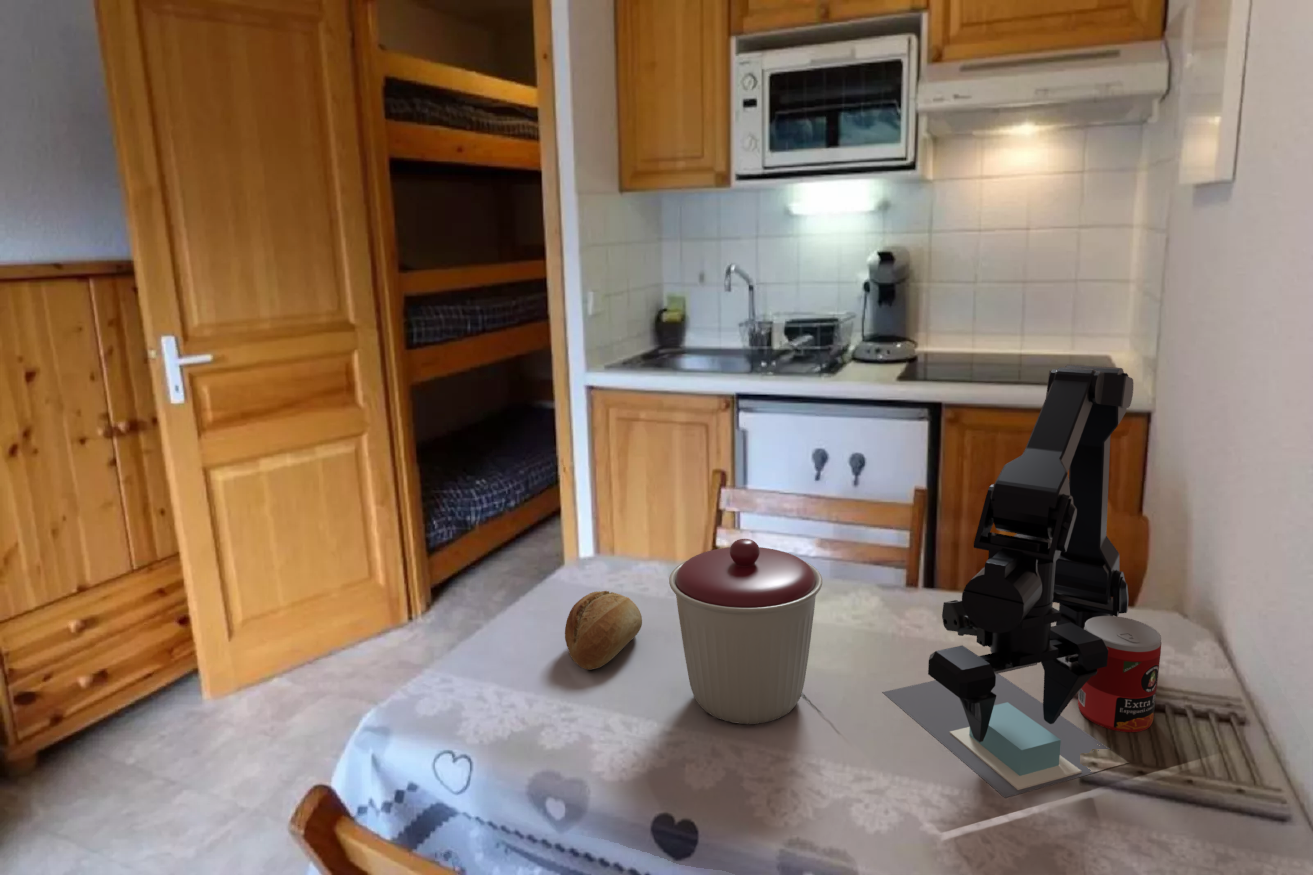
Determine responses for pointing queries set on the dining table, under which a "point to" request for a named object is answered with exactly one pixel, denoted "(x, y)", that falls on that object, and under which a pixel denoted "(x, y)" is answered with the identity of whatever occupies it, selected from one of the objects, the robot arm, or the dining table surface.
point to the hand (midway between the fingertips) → (1013, 730)
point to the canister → (746, 629)
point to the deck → (1020, 741)
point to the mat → (951, 728)
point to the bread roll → (600, 628)
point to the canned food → (1123, 675)
